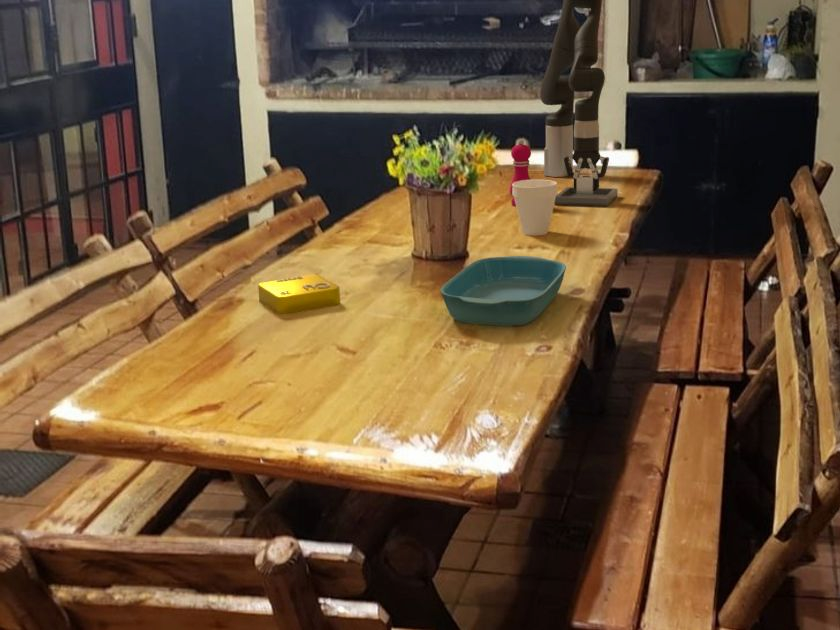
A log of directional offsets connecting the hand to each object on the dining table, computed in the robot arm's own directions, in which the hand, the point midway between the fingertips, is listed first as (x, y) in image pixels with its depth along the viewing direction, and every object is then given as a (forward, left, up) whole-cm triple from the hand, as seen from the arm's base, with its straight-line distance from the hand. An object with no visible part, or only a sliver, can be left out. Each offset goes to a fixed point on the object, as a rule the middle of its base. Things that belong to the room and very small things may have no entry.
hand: (586, 190), depth 355 cm
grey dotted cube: (0, 0, -1) cm, 1 cm away
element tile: (-38, -122, -4) cm, 128 cm away
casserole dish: (+8, -115, -4) cm, 115 cm away
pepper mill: (-18, -9, -3) cm, 20 cm away
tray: (0, 0, -3) cm, 3 cm away
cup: (-4, -45, -3) cm, 45 cm away
